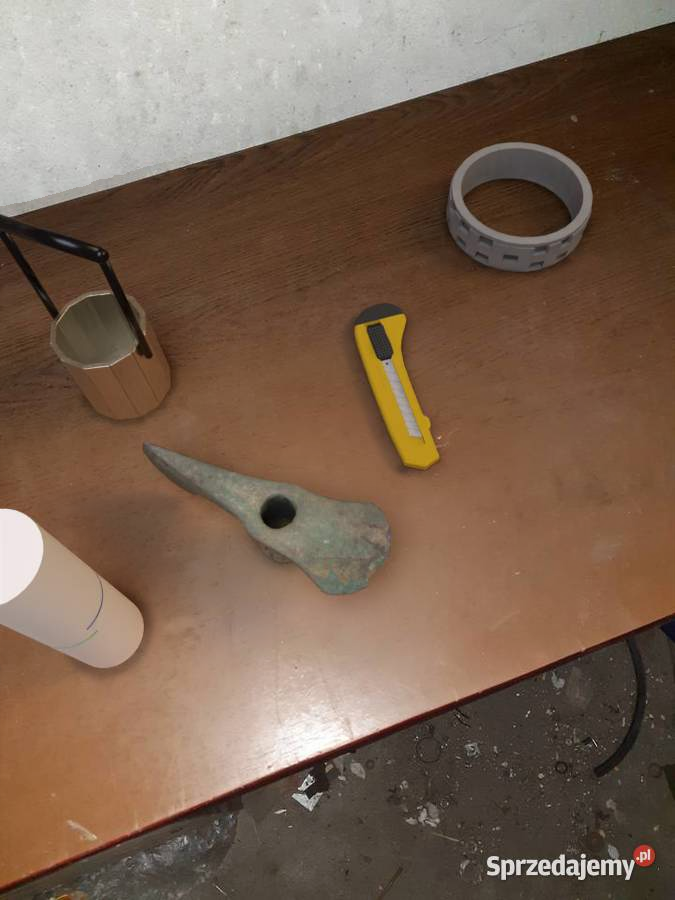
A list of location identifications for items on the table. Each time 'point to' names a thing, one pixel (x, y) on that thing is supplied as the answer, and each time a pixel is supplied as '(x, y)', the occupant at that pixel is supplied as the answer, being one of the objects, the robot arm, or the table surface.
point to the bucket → (99, 332)
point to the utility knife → (394, 384)
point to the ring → (524, 165)
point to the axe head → (291, 521)
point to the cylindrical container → (62, 597)
